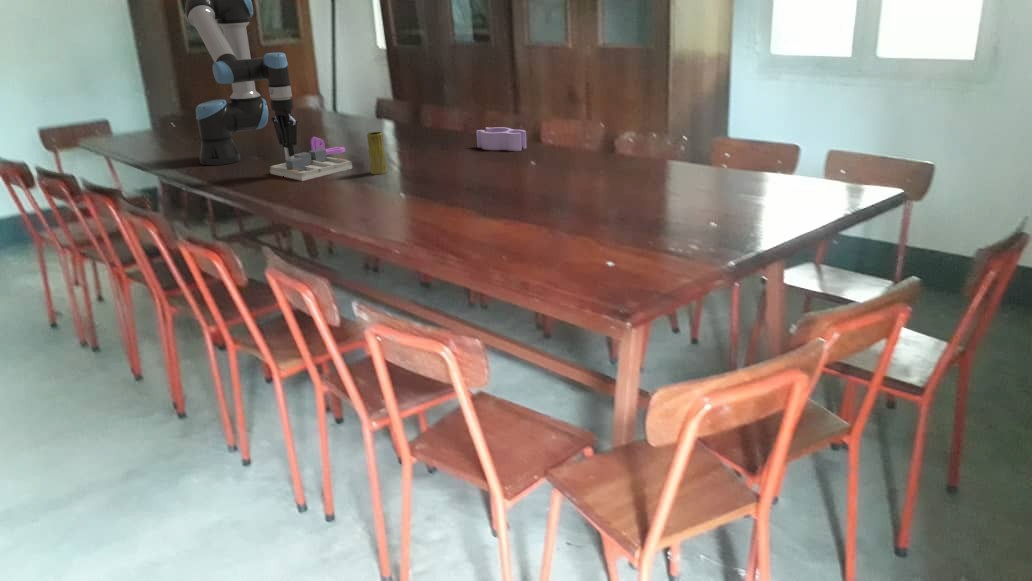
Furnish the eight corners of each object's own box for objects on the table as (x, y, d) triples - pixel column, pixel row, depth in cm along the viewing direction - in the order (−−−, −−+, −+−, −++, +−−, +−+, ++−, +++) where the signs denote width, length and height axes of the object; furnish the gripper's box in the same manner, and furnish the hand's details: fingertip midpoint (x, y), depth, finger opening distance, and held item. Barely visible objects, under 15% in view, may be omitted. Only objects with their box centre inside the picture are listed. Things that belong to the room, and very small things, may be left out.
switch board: (270, 173, 294) (269, 165, 293) (320, 162, 309) (319, 154, 308) (302, 180, 281) (301, 172, 280) (352, 168, 297) (351, 160, 295)
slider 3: (310, 161, 302) (308, 151, 301) (320, 159, 305) (319, 148, 304) (316, 162, 300) (314, 152, 298) (327, 160, 303) (325, 149, 301)
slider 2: (294, 165, 297) (292, 154, 296) (305, 162, 301) (304, 152, 299) (300, 166, 295) (299, 155, 293) (311, 163, 298) (310, 153, 297)
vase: (371, 175, 285) (366, 135, 280) (369, 171, 291) (365, 132, 285) (388, 173, 287) (384, 133, 281) (386, 170, 292) (382, 130, 287)
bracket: (317, 156, 319) (315, 139, 317) (312, 154, 324) (309, 137, 321) (347, 151, 326) (345, 134, 324) (341, 149, 330) (339, 132, 328)
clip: (531, 146, 321) (531, 129, 319) (515, 152, 312) (514, 135, 309) (490, 143, 331) (489, 126, 329) (473, 148, 322) (472, 131, 319)
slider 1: (287, 171, 289) (285, 160, 287) (298, 168, 292) (297, 157, 291) (293, 172, 286) (291, 161, 285) (305, 169, 290) (303, 158, 288)
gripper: (261, 98, 283) (271, 164, 292) (282, 101, 275) (292, 168, 284) (279, 95, 288) (289, 160, 297) (301, 98, 280) (310, 164, 289)
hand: (290, 164), depth 290 cm, fingers closed
